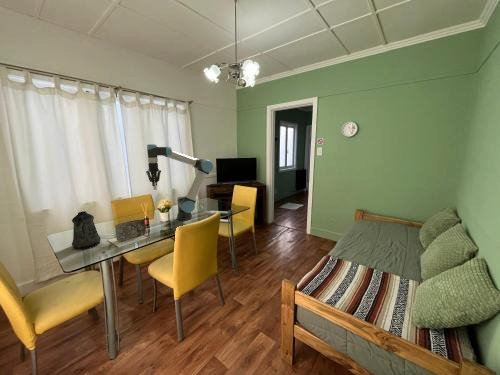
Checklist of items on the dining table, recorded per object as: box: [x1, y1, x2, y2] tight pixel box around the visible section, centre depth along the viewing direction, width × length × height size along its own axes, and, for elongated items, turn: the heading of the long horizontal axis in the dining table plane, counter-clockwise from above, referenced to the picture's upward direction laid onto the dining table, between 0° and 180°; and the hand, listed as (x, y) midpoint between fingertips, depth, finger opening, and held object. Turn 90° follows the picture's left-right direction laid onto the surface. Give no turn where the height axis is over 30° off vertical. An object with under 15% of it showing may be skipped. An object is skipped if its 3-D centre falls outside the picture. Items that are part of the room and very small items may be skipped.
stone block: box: [115, 218, 147, 242], centre depth 163 cm, size 13×7×20 cm
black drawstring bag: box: [71, 210, 102, 251], centre depth 149 cm, size 16×19×25 cm
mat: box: [107, 234, 150, 249], centre depth 162 cm, size 22×20×1 cm
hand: (155, 189), depth 183 cm, fingers closed
